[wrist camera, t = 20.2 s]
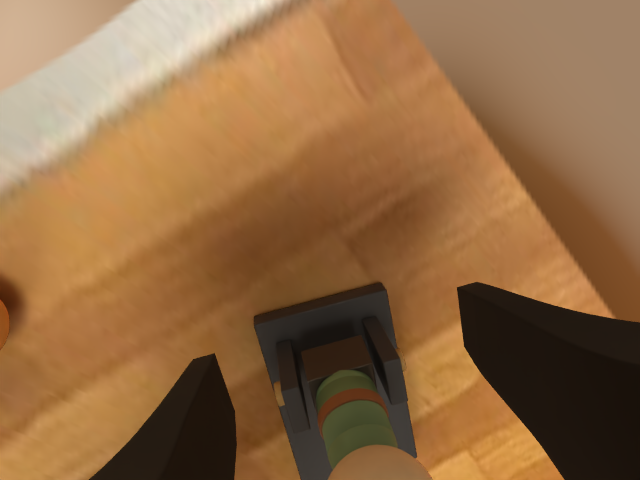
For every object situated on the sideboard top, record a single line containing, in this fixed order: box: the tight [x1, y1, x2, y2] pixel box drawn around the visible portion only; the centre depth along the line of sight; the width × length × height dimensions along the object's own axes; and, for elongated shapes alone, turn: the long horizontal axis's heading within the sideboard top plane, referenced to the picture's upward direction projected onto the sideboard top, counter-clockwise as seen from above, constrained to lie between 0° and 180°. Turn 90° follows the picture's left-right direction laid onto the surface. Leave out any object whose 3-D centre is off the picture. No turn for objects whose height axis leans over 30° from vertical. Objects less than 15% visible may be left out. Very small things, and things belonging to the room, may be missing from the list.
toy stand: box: [254, 283, 417, 480], centre depth 24 cm, size 12×7×5 cm, turn 12°
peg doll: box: [301, 335, 433, 480], centre depth 18 cm, size 4×4×10 cm
